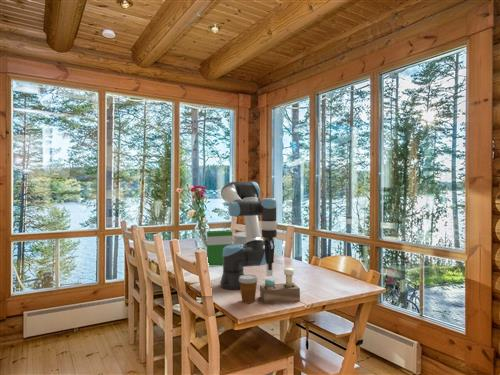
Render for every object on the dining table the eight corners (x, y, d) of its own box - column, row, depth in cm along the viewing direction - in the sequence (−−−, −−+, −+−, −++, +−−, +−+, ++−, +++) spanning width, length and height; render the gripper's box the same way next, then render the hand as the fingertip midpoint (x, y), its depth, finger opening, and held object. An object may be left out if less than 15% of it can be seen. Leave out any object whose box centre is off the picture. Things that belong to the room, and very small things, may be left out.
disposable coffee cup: (235, 303, 167) (235, 278, 167) (243, 296, 176) (242, 273, 175) (254, 305, 163) (253, 280, 163) (260, 298, 172) (260, 275, 172)
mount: (260, 296, 176) (260, 285, 176) (293, 294, 179) (293, 282, 179) (264, 303, 166) (264, 290, 166) (300, 300, 169) (299, 288, 169)
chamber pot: (225, 256, 276) (225, 230, 276) (240, 250, 301) (239, 226, 301) (258, 258, 265) (257, 232, 265) (269, 252, 291) (269, 227, 290)
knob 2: (283, 285, 175) (283, 268, 175) (292, 285, 176) (292, 267, 176) (285, 288, 170) (285, 270, 170) (295, 288, 171) (294, 270, 171)
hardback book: (230, 262, 255) (230, 230, 254) (232, 264, 247) (232, 231, 247) (207, 263, 250) (206, 231, 250) (208, 266, 243) (207, 232, 243)
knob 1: (264, 296, 173) (264, 279, 173) (273, 296, 174) (273, 278, 174) (266, 300, 169) (266, 281, 168) (275, 299, 169) (275, 281, 169)
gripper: (279, 230, 165) (280, 279, 166) (273, 227, 178) (273, 271, 179) (264, 231, 164) (265, 280, 165) (259, 227, 177) (259, 272, 177)
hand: (269, 275), depth 172 cm, fingers closed
